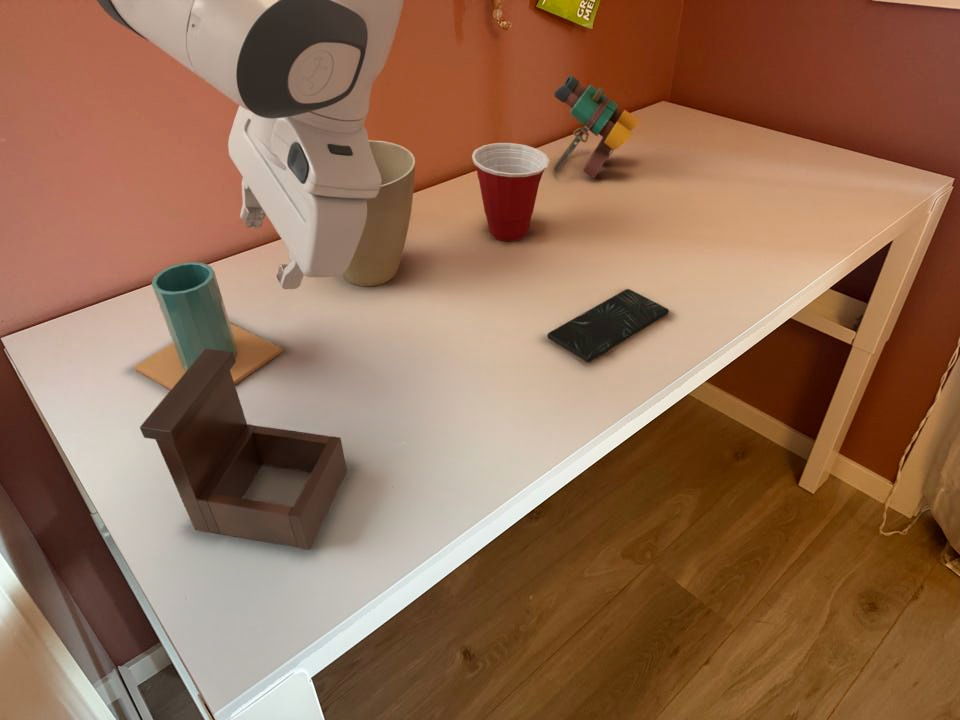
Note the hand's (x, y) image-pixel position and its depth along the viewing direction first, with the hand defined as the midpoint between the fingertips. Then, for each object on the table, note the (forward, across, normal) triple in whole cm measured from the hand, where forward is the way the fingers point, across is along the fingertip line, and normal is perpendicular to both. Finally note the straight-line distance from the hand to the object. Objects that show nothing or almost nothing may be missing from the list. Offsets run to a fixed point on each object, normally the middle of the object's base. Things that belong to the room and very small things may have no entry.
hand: (268, 252), depth 69 cm
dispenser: (+16, +17, -2) cm, 24 cm away
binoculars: (-1, -22, +68) cm, 71 cm away
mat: (+21, -6, +1) cm, 22 cm away
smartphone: (0, +14, +39) cm, 41 cm away
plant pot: (+14, -13, +24) cm, 30 cm away
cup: (+20, -6, +1) cm, 21 cm away
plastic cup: (+5, -12, +44) cm, 46 cm away
